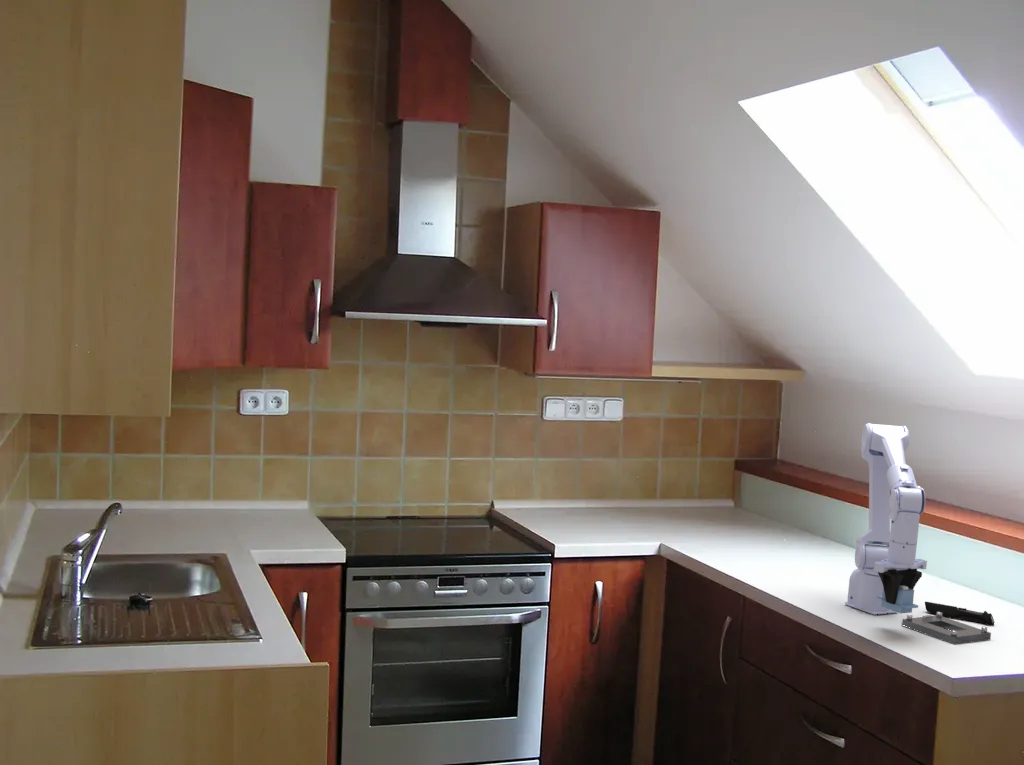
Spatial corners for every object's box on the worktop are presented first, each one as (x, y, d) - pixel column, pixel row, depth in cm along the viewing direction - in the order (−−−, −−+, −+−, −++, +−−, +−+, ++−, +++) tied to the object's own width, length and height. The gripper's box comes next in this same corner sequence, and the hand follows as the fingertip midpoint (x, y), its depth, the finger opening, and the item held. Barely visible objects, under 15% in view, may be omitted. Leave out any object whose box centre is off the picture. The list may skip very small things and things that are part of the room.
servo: (875, 604, 248) (878, 580, 248) (886, 603, 250) (889, 579, 250) (906, 615, 241) (909, 590, 241) (917, 614, 243) (920, 589, 242)
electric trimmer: (925, 612, 268) (926, 599, 267) (994, 624, 260) (996, 611, 260) (922, 615, 264) (923, 602, 264) (993, 628, 257) (994, 614, 257)
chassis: (901, 625, 251) (903, 614, 251) (937, 621, 257) (938, 610, 257) (953, 644, 239) (955, 632, 239) (990, 639, 245) (991, 628, 245)
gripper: (894, 547, 237) (888, 609, 238) (940, 544, 245) (934, 604, 246) (869, 539, 244) (862, 600, 245) (914, 537, 251) (908, 596, 252)
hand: (896, 602), depth 246 cm, fingers closed on servo, 3 cm apart
